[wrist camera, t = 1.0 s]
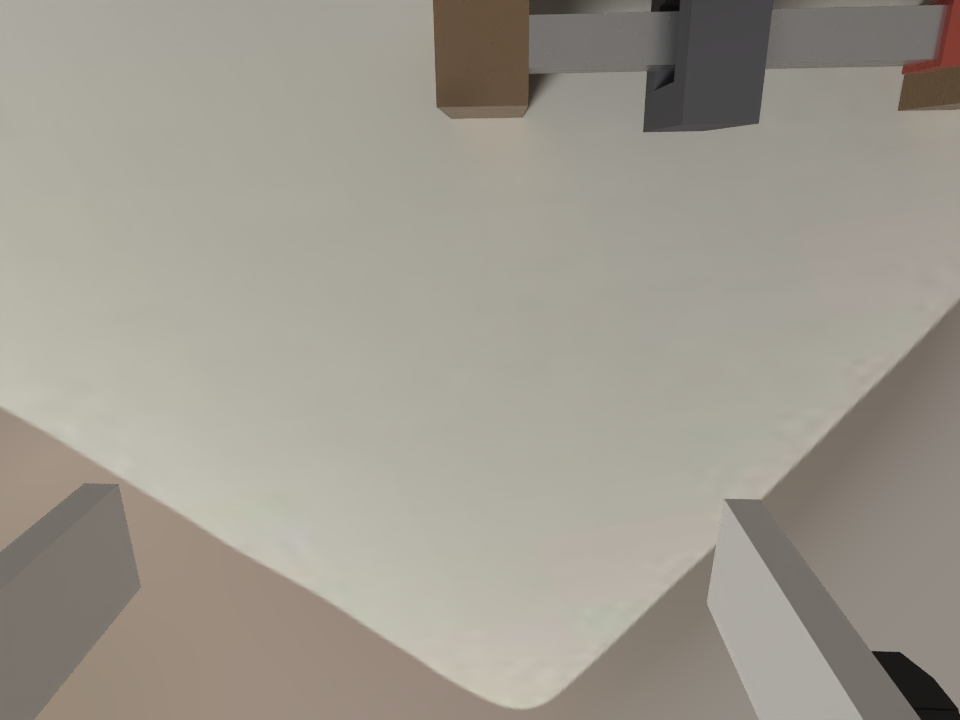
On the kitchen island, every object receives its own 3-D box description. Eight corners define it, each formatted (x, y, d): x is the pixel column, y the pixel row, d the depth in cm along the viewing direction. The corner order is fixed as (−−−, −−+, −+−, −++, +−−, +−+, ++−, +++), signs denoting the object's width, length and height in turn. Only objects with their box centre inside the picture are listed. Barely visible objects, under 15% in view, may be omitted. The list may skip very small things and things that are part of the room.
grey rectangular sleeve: (653, -27, 29) (699, -83, 22) (718, -29, 29) (783, -86, 22) (643, 131, 31) (681, 124, 24) (703, 131, 31) (758, 123, 24)
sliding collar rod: (448, 18, 33) (431, -26, 25) (976, 5, 32) (1133, -45, 24) (451, 118, 34) (436, 106, 26) (954, 109, 33) (1094, 94, 25)
